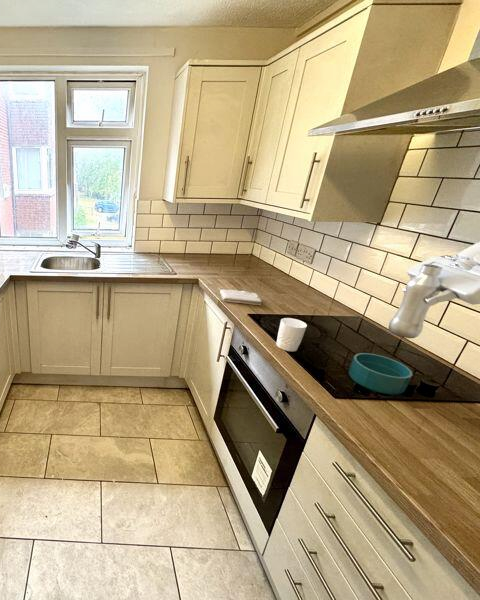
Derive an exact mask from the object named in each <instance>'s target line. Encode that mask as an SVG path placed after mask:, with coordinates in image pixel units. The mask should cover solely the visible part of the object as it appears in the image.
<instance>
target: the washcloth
mask: <svg viewBox="0 0 480 600" xmlns="http://www.w3.org/2000/svg"><path fill="white" fill-rule="evenodd" d="M219 294H220V296H221V299H222V301H223V302H226V303H235V304H245V305H251V306H261V305H262V302H263V300H262V299H261V298H260V296H259V294H257V293H256V292H249V291H246V290H236V289H220V290H219Z"/></svg>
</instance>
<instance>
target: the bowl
mask: <svg viewBox="0 0 480 600" xmlns="http://www.w3.org/2000/svg"><path fill="white" fill-rule="evenodd" d="M347 373H348V376H349V377H350V378H351V379H352V380H353V382H355V383H357V384H359V385H360V386H362V387H364V388H366V389H368V390H371V391H373V392H377V393H380V394H385V395H401V394H402V393H404V392H405V391H406V389H407V388H408V385H409V383H410V382H411V380H412V377H413V375H414V374H413V371H412V370H411V369H410V368H409V367H408V366H406V365H405V364H403V363H401V362H399V361H397V360H395V359H393V358H390V357H387V356H384V355H380V354H375V353H369V352H360V353H356V354H355V355H354V356H353V358H352V360H351V363H350V364H349V368H348V372H347Z"/></svg>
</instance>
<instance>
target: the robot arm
mask: <svg viewBox="0 0 480 600" xmlns="http://www.w3.org/2000/svg"><path fill="white" fill-rule="evenodd" d="M423 264H430V265H436V266H440V267H443V268H442V271H441V274H440V275H438V278H439V280H440V283H441V287H442V289H441V291H440V293H439V294H438V295H436V296H429V297H427V298H425V299H424V301H425V303H426V304H428V305H430V307H433V306H435V305H437V304H439V303H444V302H445V303H446V302H450V301H452V300H455V299H458V300H460V301H463V302H465V303H467V304H469V305H472V306H473V305H480V241H477V242H475V243H474V244H472V245H470V246H468V247H466V248H465V249H463V250H461V251H459V252H457V253H456V254H454V255H453V256H452V255H449V254H446V255H445V254H444V255H439V256H432V257H430V258H427V259H425V260H423V261H420V262H419V263H417V264H414V265H413V266H411V267H409V268H408V269H407V270H406V275H408V276H409V278H410V279H411V278H413V277H415V276H416V275H418V274H420V272H419V271H420V269H421V267H422V265H423ZM405 288H406V286H405V287H403V288H402V292H403V294H404V293H405Z"/></svg>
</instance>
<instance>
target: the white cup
mask: <svg viewBox="0 0 480 600" xmlns="http://www.w3.org/2000/svg"><path fill="white" fill-rule="evenodd" d="M307 327H308V325H307V323H306V322H304V321H302V320H300V319H297V318H292V317H284V318H281V319H280V322H279V327H278V332H277V338H276V342H275V346H276V347H277V348H278V349H281V350H283V351H287V352H297V351H298V350H299V347H300V345H301V343H302V340H303V338H304V335H305V332H306V330H307Z"/></svg>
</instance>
